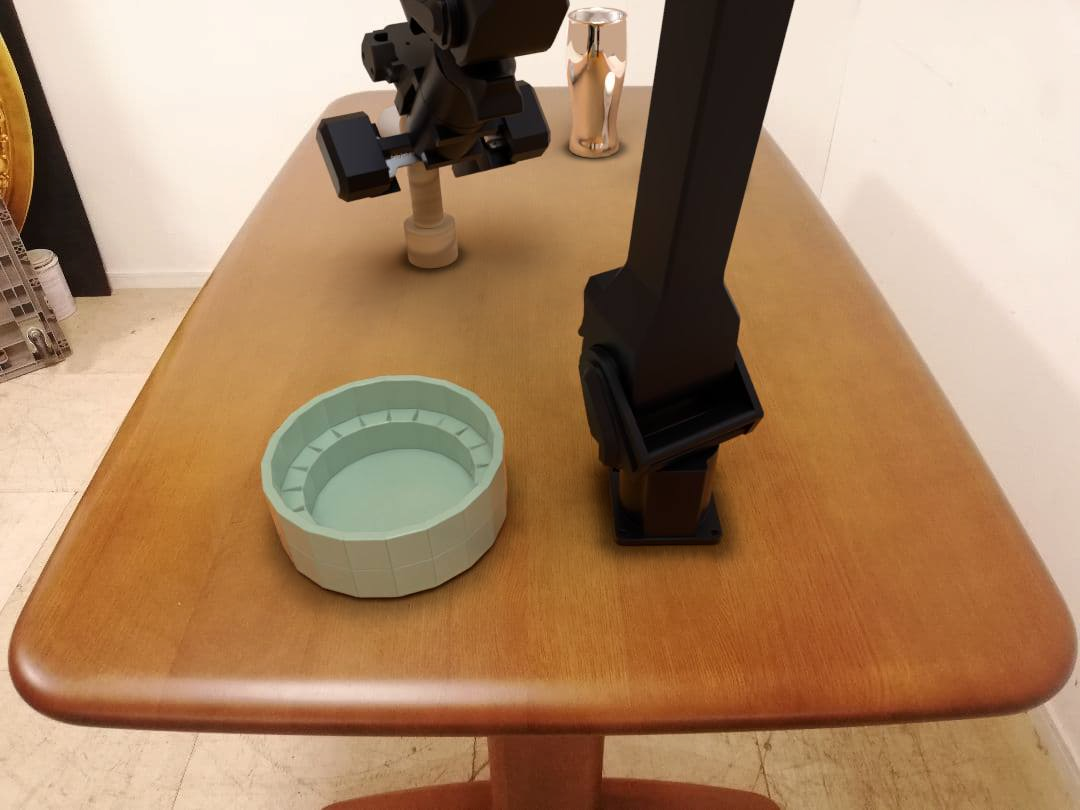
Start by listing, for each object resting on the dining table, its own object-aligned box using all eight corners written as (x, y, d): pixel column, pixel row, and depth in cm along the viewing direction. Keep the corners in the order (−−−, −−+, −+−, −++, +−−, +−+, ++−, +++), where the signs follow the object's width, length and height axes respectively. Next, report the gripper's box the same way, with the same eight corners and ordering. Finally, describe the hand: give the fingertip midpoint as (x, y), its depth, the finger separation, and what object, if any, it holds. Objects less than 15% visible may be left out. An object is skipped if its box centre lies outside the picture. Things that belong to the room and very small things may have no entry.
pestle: (456, 268, 73) (441, 116, 64) (405, 269, 73) (383, 118, 64) (460, 243, 77) (446, 97, 68) (411, 244, 77) (391, 98, 68)
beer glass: (555, 143, 96) (555, 11, 87) (605, 133, 98) (610, 3, 89) (581, 163, 91) (583, 26, 82) (633, 153, 94) (641, 17, 84)
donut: (448, 119, 104) (373, 127, 102) (446, 92, 102) (369, 100, 99) (465, 146, 96) (385, 155, 94) (464, 118, 94) (381, 127, 92)
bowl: (504, 601, 44) (499, 537, 41) (255, 604, 44) (229, 541, 41) (510, 434, 55) (506, 372, 52) (310, 437, 55) (293, 376, 52)
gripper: (531, -26, 61) (479, 82, 75) (295, 8, 54) (288, 119, 68) (582, 107, 60) (520, 189, 75) (351, 157, 54) (332, 237, 68)
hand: (419, 181), depth 72 cm, fingers open, 7 cm apart
